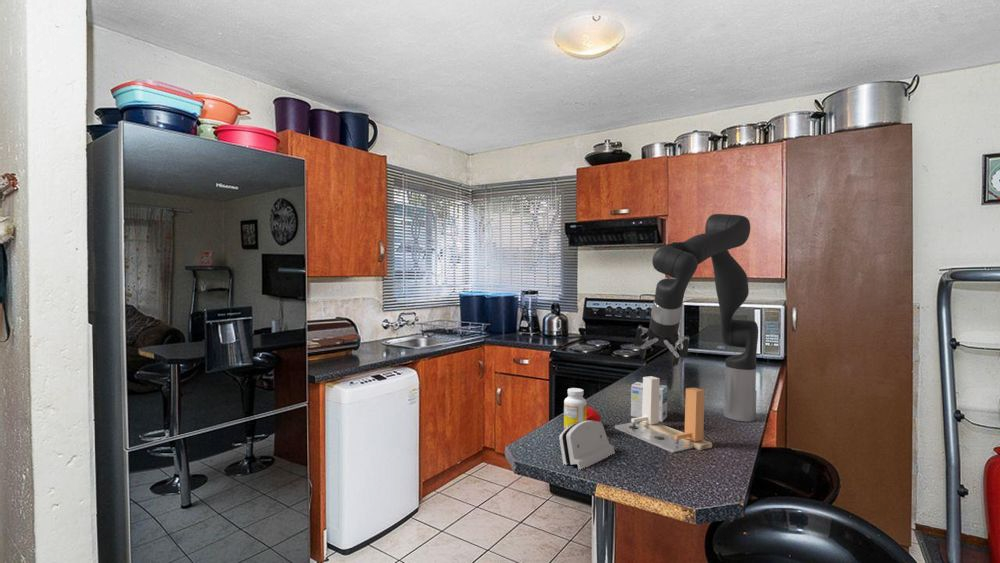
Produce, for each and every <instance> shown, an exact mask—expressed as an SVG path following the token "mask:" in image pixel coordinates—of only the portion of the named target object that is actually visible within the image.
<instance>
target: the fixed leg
mask: <svg viewBox="0 0 1000 563" xmlns="http://www.w3.org/2000/svg"><path fill="white" fill-rule="evenodd" d="M660 379H661V378H660V377H656V376H652V375H650V376H643V377H642V383H643V399H642V417H632V418H631V419H630V421H631V422H632V426H633V427H635V423H640V422H645V423H647V424H650V425H652V424H657V423H660V421H659V386H660V384H661V382H660ZM631 422H630V423H631Z"/></svg>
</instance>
